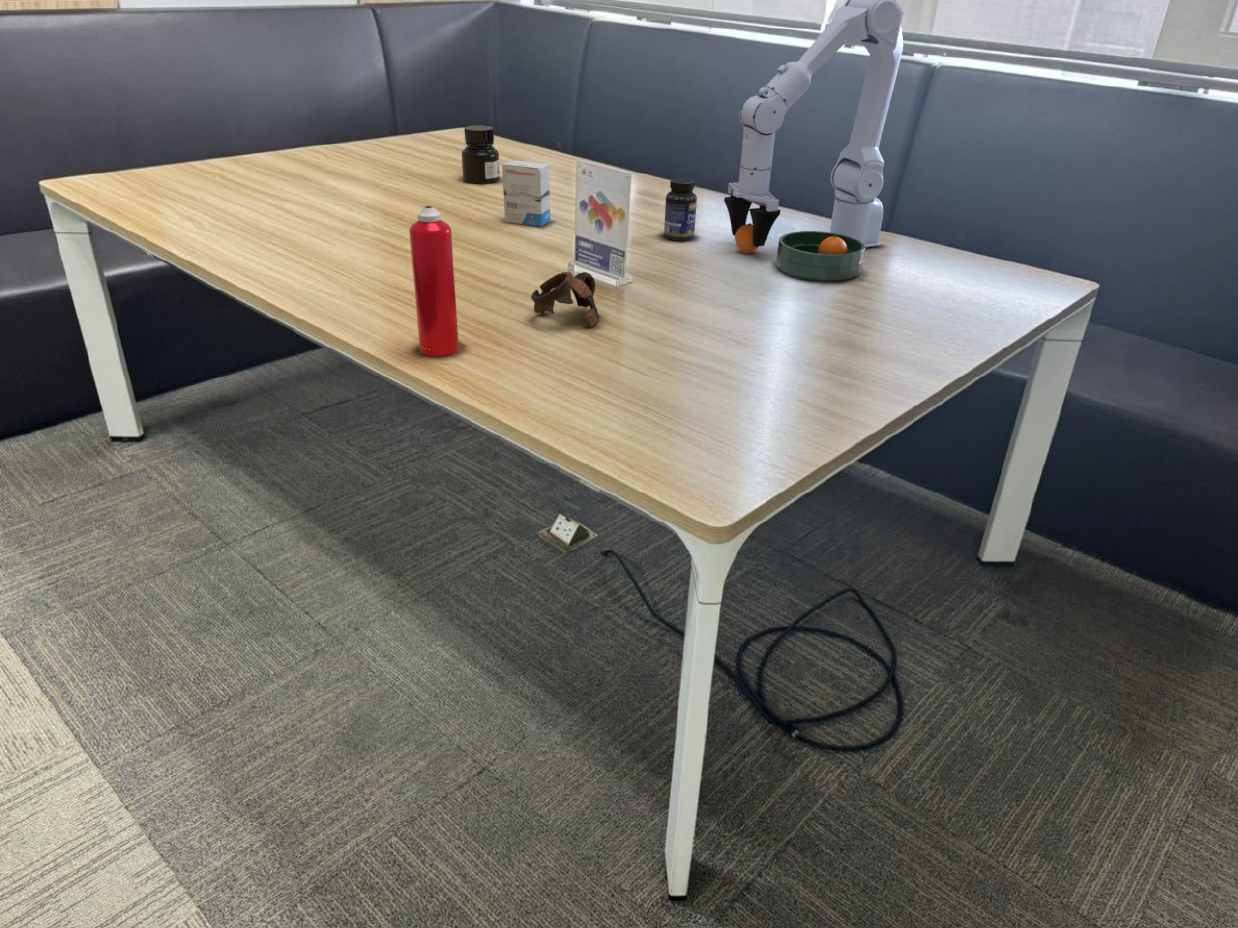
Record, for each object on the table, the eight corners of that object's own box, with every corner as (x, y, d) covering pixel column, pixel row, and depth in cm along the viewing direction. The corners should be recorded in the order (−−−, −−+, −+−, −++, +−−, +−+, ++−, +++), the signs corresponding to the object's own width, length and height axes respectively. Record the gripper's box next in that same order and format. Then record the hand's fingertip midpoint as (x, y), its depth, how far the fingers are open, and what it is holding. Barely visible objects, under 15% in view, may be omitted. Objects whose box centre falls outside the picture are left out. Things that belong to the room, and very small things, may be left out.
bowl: (827, 253, 173) (831, 228, 170) (877, 278, 161) (882, 250, 158) (760, 261, 167) (763, 235, 164) (807, 287, 155) (811, 259, 153)
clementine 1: (751, 246, 175) (754, 218, 173) (765, 254, 171) (769, 225, 169) (728, 249, 173) (731, 221, 171) (742, 256, 169) (745, 228, 167)
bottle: (424, 358, 124) (412, 214, 114) (416, 344, 128) (403, 203, 118) (463, 353, 126) (454, 210, 116) (453, 339, 130) (443, 200, 120)
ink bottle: (497, 185, 213) (494, 132, 207) (459, 184, 213) (456, 131, 207) (502, 176, 221) (500, 125, 215) (466, 175, 221) (463, 123, 215)
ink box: (551, 222, 187) (550, 163, 181) (540, 227, 182) (539, 168, 177) (514, 216, 189) (512, 159, 183) (503, 222, 185) (501, 163, 179)
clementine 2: (833, 259, 167) (838, 230, 165) (850, 267, 163) (855, 238, 161) (810, 262, 166) (814, 233, 163) (827, 270, 162) (831, 241, 159)
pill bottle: (692, 242, 176) (696, 185, 171) (661, 240, 177) (664, 183, 172) (695, 234, 182) (699, 178, 176) (666, 231, 183) (669, 176, 177)
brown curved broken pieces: (588, 338, 133) (560, 292, 130) (542, 351, 139) (514, 307, 136) (621, 295, 141) (595, 250, 137) (576, 309, 147) (550, 266, 143)
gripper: (717, 160, 169) (711, 232, 175) (758, 177, 157) (750, 253, 164) (749, 158, 171) (741, 229, 178) (792, 174, 160) (782, 249, 167)
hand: (748, 240), depth 171 cm, fingers open, 7 cm apart
